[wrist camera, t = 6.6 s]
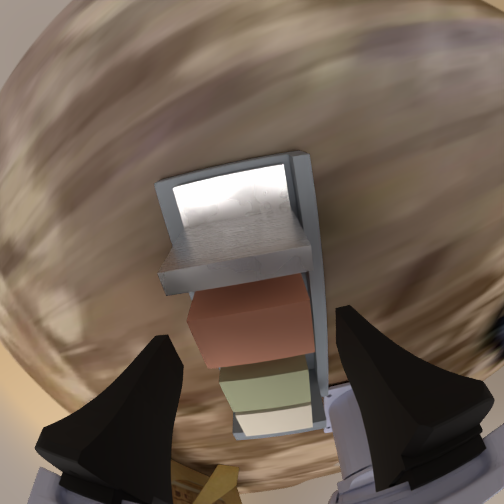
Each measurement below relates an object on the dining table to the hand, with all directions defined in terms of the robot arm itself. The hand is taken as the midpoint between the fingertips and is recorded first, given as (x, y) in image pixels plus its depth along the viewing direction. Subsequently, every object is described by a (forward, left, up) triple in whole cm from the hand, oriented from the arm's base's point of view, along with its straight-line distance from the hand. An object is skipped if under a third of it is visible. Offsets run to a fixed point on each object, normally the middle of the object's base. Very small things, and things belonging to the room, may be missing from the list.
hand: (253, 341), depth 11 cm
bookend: (+5, 0, -6) cm, 7 cm away
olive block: (-4, 0, -6) cm, 7 cm away
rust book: (0, 0, -6) cm, 6 cm away
